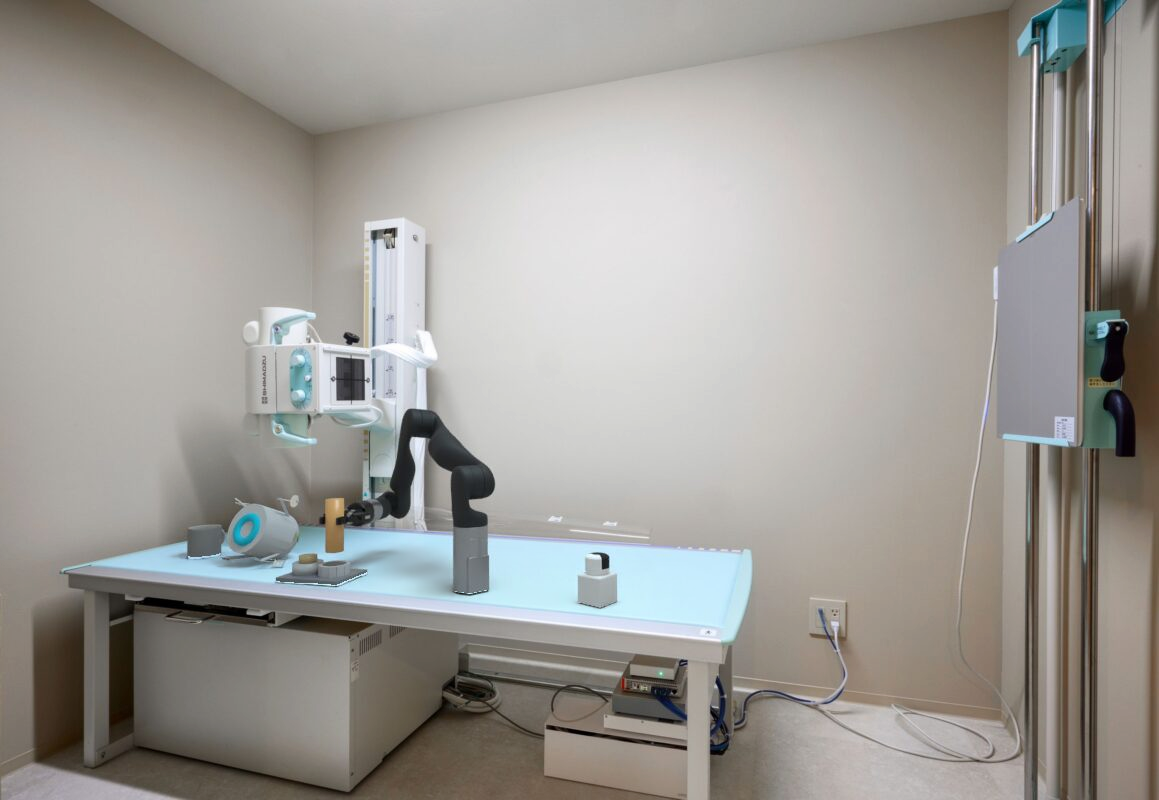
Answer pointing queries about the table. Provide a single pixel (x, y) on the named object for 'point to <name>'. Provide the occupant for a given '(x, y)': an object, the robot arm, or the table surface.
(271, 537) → the satellite
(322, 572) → the housing
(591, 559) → the medicine bottle
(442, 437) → the robot arm
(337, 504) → the cylinder
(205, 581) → the table surface
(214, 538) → the coffee mug
